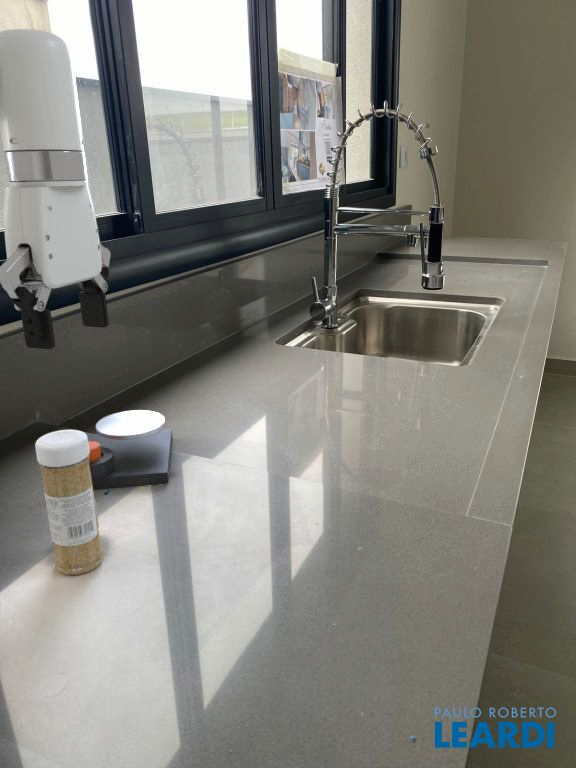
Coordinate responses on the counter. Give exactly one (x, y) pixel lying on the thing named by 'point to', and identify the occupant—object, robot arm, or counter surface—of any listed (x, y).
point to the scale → (132, 461)
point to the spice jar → (70, 500)
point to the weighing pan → (130, 424)
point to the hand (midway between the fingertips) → (70, 336)
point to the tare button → (94, 451)
